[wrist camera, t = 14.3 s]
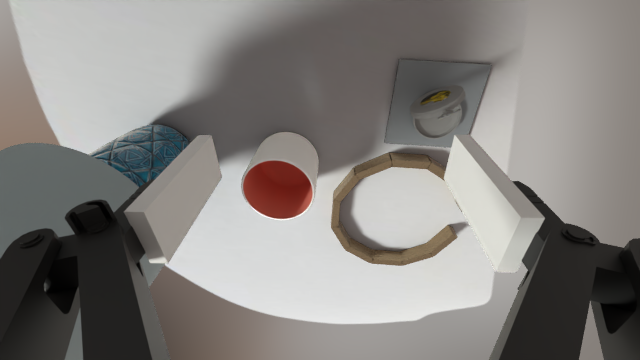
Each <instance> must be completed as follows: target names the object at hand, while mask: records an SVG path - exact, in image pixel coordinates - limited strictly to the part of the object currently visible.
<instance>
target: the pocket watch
mask: <svg viewBox="0 0 640 360" xmlns="http://www.w3.org/2000/svg"><path fill="white" fill-rule="evenodd" d="M465 96H466V94H465V91H464V89H463V88H462V87H461V86H459V85H450V86H445V87H441V88H438V89H435V90H433V91H430V92H428V93H426V94H424V95H423V96H421V97H420V98H418V99H417V100H416V101H414V103H413V104H412V105H411V107H410V113H411V116H412V117H413V124H414V128H415V129H416V131H417V132H418V133H419V134H420V135H421V136H423V137H425V138H428V139H439V138H442V137H445V136H447V135H449V134H450V133H451V132H453V131H454V130H455V129H456V127H457V126H458V124H459V123H460V120H461V117H462V108H461V105H460V103H461V102H462V101H463V100H464V98H465Z"/></svg>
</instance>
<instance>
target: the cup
mask: <svg viewBox="0 0 640 360" xmlns="http://www.w3.org/2000/svg"><path fill="white" fill-rule="evenodd" d="M318 166H319V159H318V155H317V152H316V150H315V148H314V146H313V145H312V144H311V143H310V142H309V141H308V140H307V139H306V138H304V137H303V136H301V135H298V134H295V133H291V132H280V133H276V134H273V135H271V136H269V137H268V138H266V139H265V140H264V141H263V142H262V143H261V145H260V146H259V148H258V150H257V152H256V153H255V155H254V157H253V159H252V161H251V162H250V164H249V166H248V168H247V169H246V171H245V173H244V175H243V178H242V182H241V189H242V193H243V196H244V198H245V200H246V202H247V203H248V205H249V206H250V207H251V208H252V209H253V210H255V211H256V212H257V213H259V214H261V215H263V216H265V217H267V218H271V219H276V220H289V219H293V218H296V217H299V216H301V215H302V214H304V213H305V212H306V211H307V210H308V209H309V208H310V207H311V205H312V203H313V201H314V198H315V190H316V182H317V174H318Z"/></svg>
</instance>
